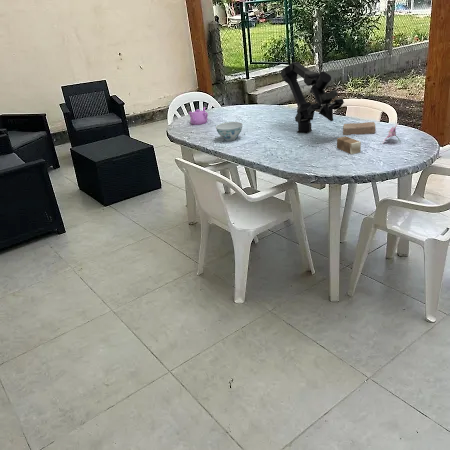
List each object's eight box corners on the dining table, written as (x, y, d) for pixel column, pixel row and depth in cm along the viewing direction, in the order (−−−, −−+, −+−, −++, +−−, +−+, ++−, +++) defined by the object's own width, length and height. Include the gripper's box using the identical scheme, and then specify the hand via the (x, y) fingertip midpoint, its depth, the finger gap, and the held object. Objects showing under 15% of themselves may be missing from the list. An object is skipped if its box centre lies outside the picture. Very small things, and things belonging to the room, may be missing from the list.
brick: (342, 135, 238) (343, 127, 235) (342, 131, 245) (342, 122, 243) (375, 134, 234) (376, 125, 231) (374, 130, 241) (374, 121, 239)
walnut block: (336, 138, 218) (351, 144, 208) (345, 136, 219) (360, 141, 209) (336, 148, 220) (351, 154, 210) (345, 146, 221) (360, 152, 211)
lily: (393, 138, 227) (384, 123, 224) (413, 133, 217) (404, 116, 214) (382, 152, 222) (372, 136, 219) (402, 147, 212) (392, 130, 209)
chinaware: (230, 133, 263) (229, 120, 260) (249, 137, 253) (247, 123, 250) (212, 140, 254) (210, 127, 251) (230, 144, 244) (229, 130, 241)
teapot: (207, 119, 301) (205, 106, 297) (209, 124, 289) (207, 110, 285) (189, 121, 300) (187, 108, 296) (191, 126, 288) (189, 113, 284)
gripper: (310, 87, 216) (322, 114, 212) (342, 82, 222) (355, 108, 218) (301, 101, 227) (313, 127, 222) (333, 95, 232) (344, 120, 228)
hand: (332, 120), depth 222 cm, fingers closed
